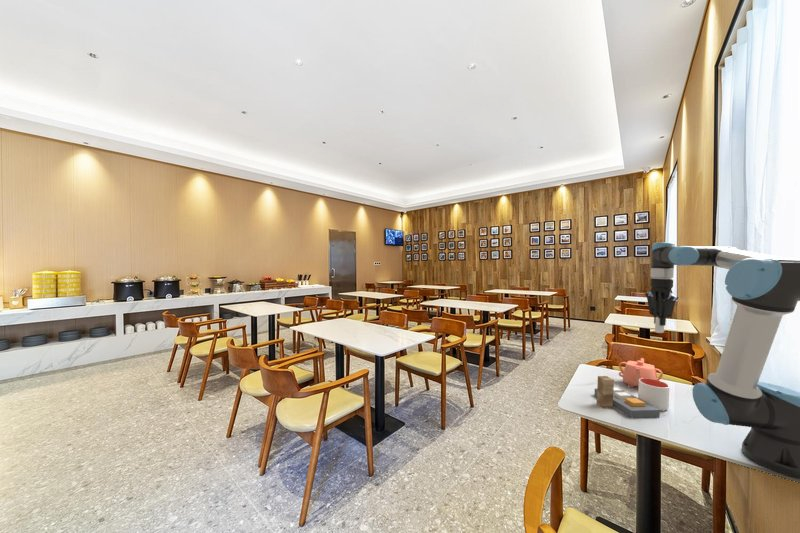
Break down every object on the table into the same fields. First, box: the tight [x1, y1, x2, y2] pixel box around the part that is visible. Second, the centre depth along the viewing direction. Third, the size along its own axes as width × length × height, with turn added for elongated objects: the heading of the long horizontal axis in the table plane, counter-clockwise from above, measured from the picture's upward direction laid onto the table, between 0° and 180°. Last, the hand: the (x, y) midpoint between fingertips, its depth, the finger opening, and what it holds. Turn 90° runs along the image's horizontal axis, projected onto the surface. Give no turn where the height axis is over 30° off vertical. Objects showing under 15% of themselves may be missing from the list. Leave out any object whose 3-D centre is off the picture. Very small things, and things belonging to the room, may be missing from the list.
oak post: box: [596, 375, 615, 409], centre depth 128 cm, size 4×4×12 cm
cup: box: [637, 378, 670, 412], centre depth 129 cm, size 10×10×10 cm
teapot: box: [618, 357, 664, 388], centre depth 149 cm, size 15×17×13 cm
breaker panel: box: [594, 386, 661, 419], centre depth 129 cm, size 20×12×4 cm, turn 5°
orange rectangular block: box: [625, 397, 645, 407], centre depth 124 cm, size 4×5×3 cm
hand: (659, 332), depth 132 cm, fingers closed
